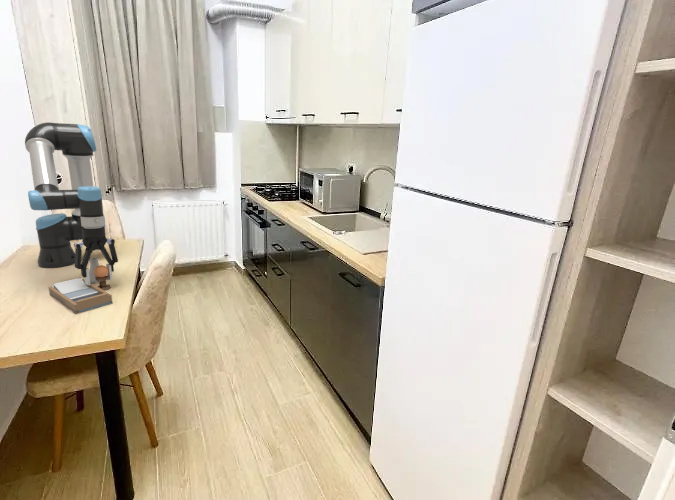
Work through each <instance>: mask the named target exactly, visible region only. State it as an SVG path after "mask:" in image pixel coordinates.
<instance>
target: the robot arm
mask: <svg viewBox="0 0 675 500" xmlns="http://www.w3.org/2000/svg"><path fill="white" fill-rule="evenodd" d="M24 147H25V150H26V151H27V152H28V153H29V159H30V166H31V168H30V169H31V174H32V175H31V176H32V181H33V188H34V189H33V190H29V191H28V192H27V196H28V197H27V198H28V201H29V202H28V203H29V207H30V208H31V210H32V211H53V210H54V211H56V210H73V211H71V216H67V214H66V213H62V212H61V213H52V214H47V215H43V216H40V217H38V218H36V220H35V227H36V228H35V230H36V232H37V238H38V244H39V252H38V253H39V254H38V259H37V264H38V265H37V266H39V267H41V268H43V269H44V268H45V269H48V268H53V269H55V268H62V267H67V266H71V265H74V268H76V269H77V270H80V274H81V277H82V278H84V279H85V284H87V285H90V277H89V270H90V268H87V267H88V264H89V263H90V260H89V259H90V258H91V255H92V253H93V251H100V252H101V254H102V255H103V257H104V258H105V260H106V262H107V263H106V264H105V266H106V267H107V268H108V274H107V275H106V276H108V278H109V280H108V281H113V273H114V271H115V268H114V265H116V263H118V262H119V259H118V255H117V251H116V246H115V242H116V240H115V239H114V238H107V235H106V220H105V219H106V218H105V215H104V208H103V207H104V206H103V193H102V188H101V187H99V186H94V181H93V173H92V171H93V170H92V165H91V158H92V157H93V156H94V153H95V152H97V145H96V142H95V137H94V134H93V132H92V129H91V128H90V127H89V126H88V125H86V124H85V125H84V124H78V123H62V122H51V121H50V122H47V121H46V122H42V123H39V124H36V125H35V126H34V127H32V128H31V129H30V130H29V131H28V132H27V134H26V136H25V138H24ZM55 151H61V152H62V153H61V154H62V156H63V157H65V158H66V159H67V166H68V173H69V179H70V186H71V189H60V187H59V182H58V177H57V172H56V171H57V170H56V165H55V160H54V153H55ZM71 241H72V242H73V241H81V242H78V243H77V242H74V243H73V246H74V249H73V247H72V245H71ZM106 244H108V249H109V252H108V251H107V249H106V246H105V245H106ZM83 246H84V247H85V250H84V254H83V257H82V253H83V252H82V251H83V250H82V248H83ZM109 253H110V254H109Z"/></svg>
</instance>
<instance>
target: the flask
mask: <svg viewBox="0 0 675 500" xmlns="http://www.w3.org/2000/svg"><path fill="white" fill-rule="evenodd" d="M89 263H90V264H89V265H90V266H89V277H90V283H92V284H97V283H98V284H99V281H97V280H96V278H95V277H96V276H95V274H94V269H95V267H97V266H99V265H100V264H99V258H98V257H90V259H89Z"/></svg>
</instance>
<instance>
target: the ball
mask: <svg viewBox="0 0 675 500" xmlns="http://www.w3.org/2000/svg"><path fill="white" fill-rule="evenodd" d="M94 274H95V276H97V277H100V278H101V277H105V276H107V274H108V268H107V267H106V265H103V264H99V266H97V267H95V269H94Z"/></svg>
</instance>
